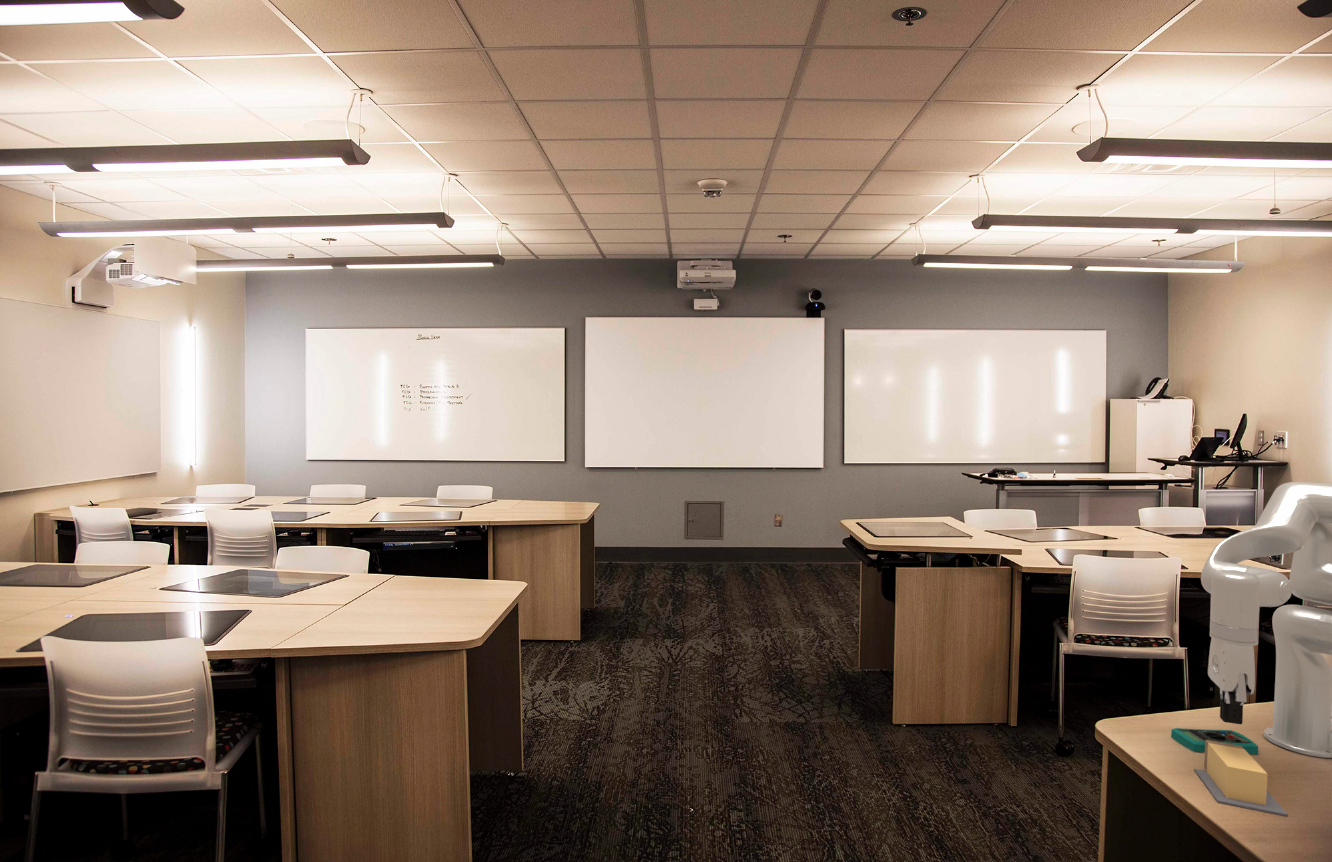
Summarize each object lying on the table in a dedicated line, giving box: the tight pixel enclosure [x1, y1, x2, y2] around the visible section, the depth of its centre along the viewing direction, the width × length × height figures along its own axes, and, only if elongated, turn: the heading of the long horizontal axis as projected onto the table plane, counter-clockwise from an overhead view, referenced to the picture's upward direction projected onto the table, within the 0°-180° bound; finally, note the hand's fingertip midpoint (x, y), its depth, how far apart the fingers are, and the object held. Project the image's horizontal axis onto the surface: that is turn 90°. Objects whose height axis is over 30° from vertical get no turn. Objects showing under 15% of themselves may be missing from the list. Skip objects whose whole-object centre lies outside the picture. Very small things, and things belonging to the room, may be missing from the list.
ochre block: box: [1203, 740, 1268, 805], centre depth 133 cm, size 6×6×12 cm
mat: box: [1193, 768, 1289, 818], centre depth 132 cm, size 10×13×1 cm
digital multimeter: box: [1170, 727, 1259, 755], centre depth 151 cm, size 7×15×3 cm, turn 89°
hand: (1231, 721), depth 137 cm, fingers closed
